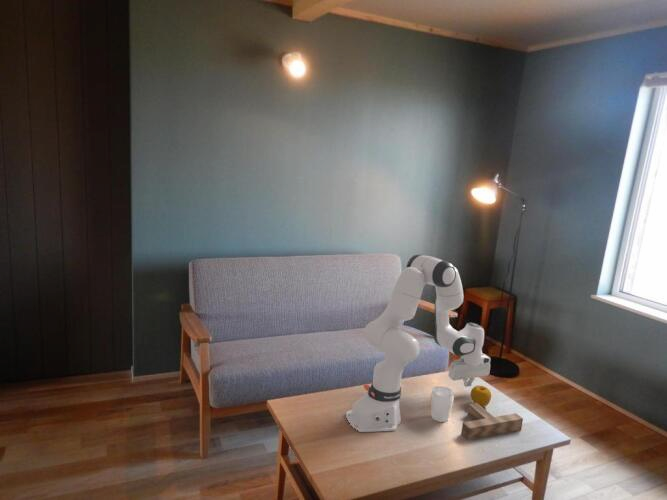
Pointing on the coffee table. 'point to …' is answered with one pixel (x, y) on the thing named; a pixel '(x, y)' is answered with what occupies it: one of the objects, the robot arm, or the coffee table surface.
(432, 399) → the cup
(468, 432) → the t block
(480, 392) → the apple
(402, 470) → the coffee table surface
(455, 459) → the coffee table surface
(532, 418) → the coffee table surface
